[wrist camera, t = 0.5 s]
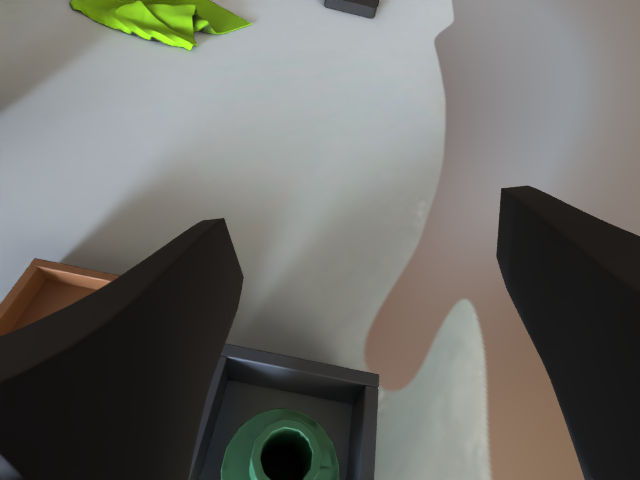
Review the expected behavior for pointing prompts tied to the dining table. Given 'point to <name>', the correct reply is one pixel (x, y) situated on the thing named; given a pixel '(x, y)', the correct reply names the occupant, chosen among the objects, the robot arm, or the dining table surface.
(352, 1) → the smart home device
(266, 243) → the dining table surface
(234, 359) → the crate
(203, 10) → the cloth
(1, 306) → the tray
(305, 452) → the bottle
